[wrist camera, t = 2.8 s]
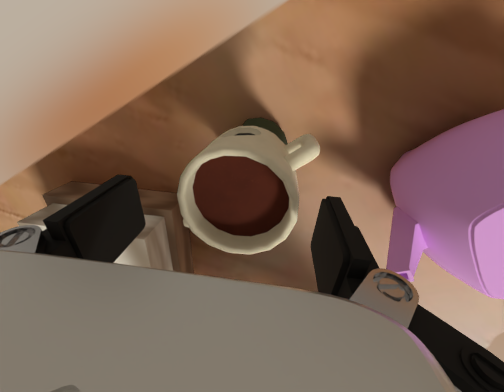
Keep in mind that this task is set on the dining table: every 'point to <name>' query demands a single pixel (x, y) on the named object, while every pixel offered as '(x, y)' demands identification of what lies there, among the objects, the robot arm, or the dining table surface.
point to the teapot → (453, 205)
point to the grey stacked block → (151, 237)
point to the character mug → (245, 187)
